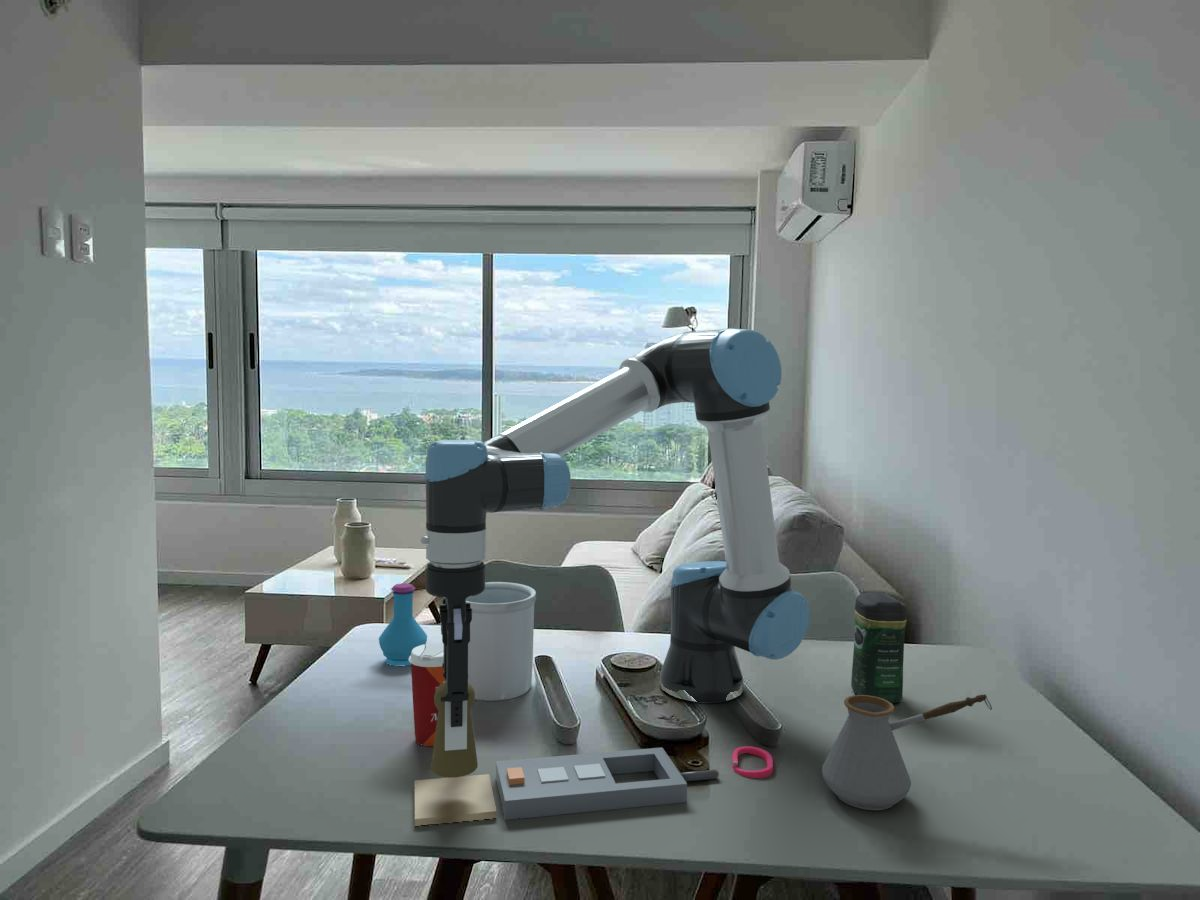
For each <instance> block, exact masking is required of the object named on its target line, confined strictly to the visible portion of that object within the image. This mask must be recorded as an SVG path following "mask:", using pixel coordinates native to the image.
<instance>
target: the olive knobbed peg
mask: <svg viewBox="0 0 1200 900" xmlns="http://www.w3.org/2000/svg"><path fill="white" fill-rule="evenodd" d="M468 693H469V698H468V701H467V749H460V750H448V751H445V702H441V700H440V696H445V695H446V694H447V685H446V682H445V683H443V684H441V685H440V686H438V688H437V689H436V692H435V695H434V702H435V706H436V708H437V709H438V710H439V711H438V718H437V726H436V733H435V740H434V747H432V748H433V749H432V756H431V764H430V770H431V773H433V774H434V775H436V776H438V777H440V778H452V777H461V776H469V775H471V774H472V773H474V772H475V771H476V770H477V768H478V764H479V763H478V756H477V750H476V749H477V747H476V740H475V733H474V731H475V730H474V724H473V718H472V708H473V706H474V705H475V700H476V699H475V691H474V689H473V687H472V686H471V684H469V683H468Z"/></svg>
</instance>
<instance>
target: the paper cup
mask: <svg viewBox="0 0 1200 900" xmlns="http://www.w3.org/2000/svg"><path fill="white" fill-rule="evenodd" d="M443 660H444V644H443V642H442V643H440V642H437V643H436V642H435V643H434V642H433V643H432V642H431V643H426V644H424V645H420V646H417V647H415V648H414V649H413V650H412V652H411V656H410V657H409V662H410V663H411V665H410V673H411V690H412V709H413V725H414V727H413V728H414V737H415V743H416V744H418V743H419V744H422V745H425V746H424V747H426V746H434V740H435V733H436V726H437V718H438V711H439V710H438V709H437V708H436V706H435V702H434V695H435V692H436V689H437V688H438V686H440V685H441V684H443V681H446V679H444V677H443V673H444V668H443V667H442V664H443ZM419 744H418V745H419Z"/></svg>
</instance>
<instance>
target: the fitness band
mask: <svg viewBox="0 0 1200 900" xmlns="http://www.w3.org/2000/svg"><path fill="white" fill-rule="evenodd" d="M741 754H750V755H754V756H757V757H760V758H762V759H764V760H765V762H766V767H765V768H762V769H758V770H757V769H756V770H747V769H746V770H745V769H742V768H740V767H739V759H738V757H739V755H741ZM731 761H732V762H731V764H732V769H733V771H734V772H735V773H737V775H739V776H743V777H746V778H752V779H763V778H768V777H769V776H771V775H772V774H773V771H774V761H773V756H772V755H771V754H770V753H769V751H767V750H765V749H763V748H760V747H757V746H748V745H746V746H743V745H742V746H738V747H736V748H735V749H734V750H733V752H732V760H731Z"/></svg>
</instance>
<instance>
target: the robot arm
mask: <svg viewBox="0 0 1200 900" xmlns="http://www.w3.org/2000/svg"><path fill="white" fill-rule="evenodd" d="M618 368H619V370H617V371H615V372H613V373H611V374H610V375H608V376H606V377H604V378H603V379H600V380H598V381H597V382H595V383H593V384H591V385H589V386H587V387H585V388H584V389H581V390H580V391H578V392H576V393H574V394H573V395H570V396H568V397H566V398H564V399H563V400H561V401H559V402H558V403H555V404H553V405H551V406H550V407H548V408H546V409H544V410H542V411H541V412H538V413H537V414H536V415H533V416H531V417H529V418H528V419H525V420H523V421H522V422H520V423H518V424H516V425H514V426H513V427H511V428H508V429H507V430H504V431H503V432H501V433H500V434H497V435H496V436H493V437H492V438H488V439H487V440H485V441H482V440H478V439H477V440H475V439H473V440H472V439H442V440H441V439H439V440H435V441H433V442H431V443H430V444H429V445H428V447H427V450H426V451H427V452H426V459H425V460H426V461H425V474H424V480H425V516H426V517H425V518H426V519H425V520H426V521H425V529H426V532H425V533H426V535H424V536H421V538H420V543H421V544H423V545H426V546H425V558H426V559H427V560H428V561H429V562H428V563H427V564H426V566H425V591H426V593H427V594H429V595H430V596H432V597H437V598H443V599H442V603H441V604H438V605H439V608H438V609H439V610H438V613H439V622H440V631H441V632H440V634H441V637H442V638H441V641H442V644H444V660H443V664H442V667H443V668H444V673H443V677H444V679H446V681H443V683H445V682H446V685H447V694H446V695H445V696H440V700H441V702H445V751H448V750H460V749H467V701H468V698H469V693H468V643H469V642H470V622H471V621H472V608H470V603H466V598H467V597H469V596H475V595H478V594H480V593H482V592H483V591H484V589H485V582H486V564H485V563H484V562H483V561H484V560H486V557H487V527H486V526H487V525H486V524H487V523H486V522H487V514H489V513H490V514H492V513H500V512H502V513H503V512H513V511H514V512H515V511H528V510H539V511H542V510H546V509H551V508H557V507H559V506H561V505H563V504H564V503H565V502H566V501H567V499H568V497H569V495H570V492H571V486H572V485H571V472H570V468H569V465H568V463H567V461H566V459H564V458H563V456H565V455H566V454H568V453H571V452H572V451H573V450H575V449H576V448H579V447H580V446H582V445H584V444H586V443H587V442H589V441H591V440H593V439H594V438H596V437H598V436H599V435H601V434H603V433H605V432H606V431H608V430H610V429H612V428H613V427H616V426H617V425H619V424H620V423H622V422H624V421H626V420H627V419H630V418H631V417H633V416H635V415H636V414H638V413H640V412H642V413H652V412H654V411H655V410H657V409H659V408H661V407H665V406H666V405H671V404H679V403H692V404H694V411H695V419H696V421H697V422H698V423H699V424H701V425H702V426H703V427H704V428H706V429H707V435H708V443H709V451H710V457H711V463H712V464H711V465H712V471H713V477H714V486H715V493H716V501H717V506H718V507H717V508H718V514H719V523H720V530H721V536H722V544H723V550H724V558H725V560H724V561H722V560H721V561H719V560H716V561H715V560H713V561H712V560H711V561H710V560H709V561H707V560H706V561H693V562H687V563H686V562H685V563H682V564H679V565H677V566H676V567H675V568H674V569H673V571H672V579H671V581H672V582H671V585H670V640H669V641H670V642H669V643H670V644H669V647H668V650H667V652H666V656H665V658H664V661H663V663H662V667H661V670H660V672H659V682H660V681H661V683H662V684H663V686H664V687H665V688H667V689H669V690H672V691H675V692H677V691H679V690H685V691H686V692H687V693H688V694H689V695H690V696H692V697H693V698H694V699H695V700H696V701H697V702H698V703H699V704H718V703H719V704H720V703H725V702H726V703H727V701H726V697H727V695H728V694H729V693H730V692H734V691H738V690H739V689H740V687H741V685H742V684H743V685H744V676H743V672H742V669H741V666H740V662H739V659H738V655H737V652H736V648H738V649H740V650H743V651H745V652H749V653H751V654H752V655H753V656H756V657H761V658H762V657H763V658H765V659H769V660H776V661H777V660H781V659H783V658H786V657H788V656H790V655H791V654H792V653H794V651H795V650H796V649H798V647H799V646H800V644H801V643H802V641H803V639H804V638H805V636H806V634H807V631H808V628H809V624H810V618H811V610H810V606H809V605H810V604H809V602H808V600H807V598H806V597H805V596H803V595H802V594H801V593H800V592H799V591H796V590H793V587H792V579H791V573H790V569H789V568H788V567H786V566H785V565H784V564H782V563H781V562H780V559H779V551H778V542H777V541H778V540H777V534H776V527H775V519H774V511H773V509H774V508H773V503H772V495H771V488H770V487H771V486H770V485H771V484H770V478H769V470H768V462H767V455H766V447H765V440H764V431H763V421H764V419H765V418H766V417H767V415H768V414H769V413H770V411H771V408H770V407H771V406H770V401H772V400H773V399H774V398H775V396H776V395H777V393H778V391H779V387H778V386H780V384H781V382H782V374H783V373H782V363H781V360H780V357H779V354H778V351H777V349H776V348H775V346H774V345H773V343H772V342H771V341H770V340H769V338H766V337H765V336H764V334H763V333H760V332H758V331H756V330H754V329H750V328H749V329H747V328H745V329H744V328H743V329H741V328H736V327H731V328H730V327H729V328H728V327H727V328H722V329H721V328H720V329H710V330H700V331H699V330H697V331H695V330H694V331H682V332H680V333H676V334H673V335H671V336H669V337H666V338H665V339H663V340H660V341H659V342H656V343H655V344H653V345H650V346H648V347H647V348H645V349H643V350H642V351H639V352H638V353H636V354H633V355H632V356H630V357H628V358H627V359H624V360H623V361H622V362H621V364H620V365H619V367H618ZM697 702H696V703H697Z"/></svg>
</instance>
